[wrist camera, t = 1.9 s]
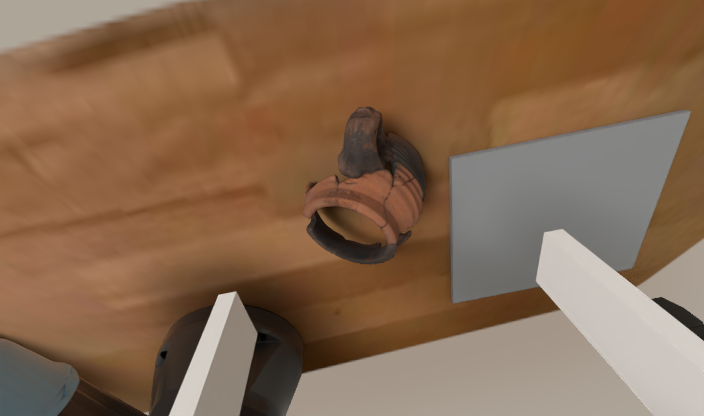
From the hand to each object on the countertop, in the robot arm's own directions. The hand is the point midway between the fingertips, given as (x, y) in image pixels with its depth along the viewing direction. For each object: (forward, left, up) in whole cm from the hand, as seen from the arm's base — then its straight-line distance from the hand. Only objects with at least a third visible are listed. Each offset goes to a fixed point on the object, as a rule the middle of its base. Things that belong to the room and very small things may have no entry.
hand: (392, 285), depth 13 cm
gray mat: (+18, -9, -14) cm, 24 cm away
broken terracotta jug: (0, 0, -14) cm, 14 cm away
